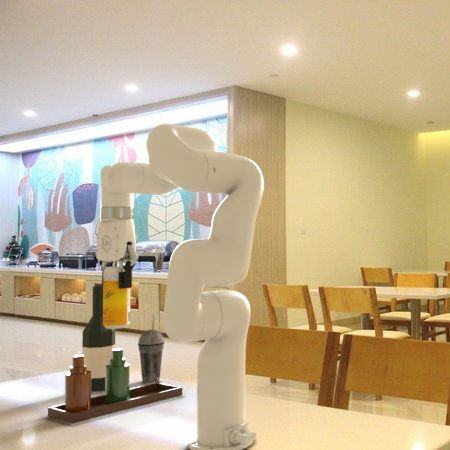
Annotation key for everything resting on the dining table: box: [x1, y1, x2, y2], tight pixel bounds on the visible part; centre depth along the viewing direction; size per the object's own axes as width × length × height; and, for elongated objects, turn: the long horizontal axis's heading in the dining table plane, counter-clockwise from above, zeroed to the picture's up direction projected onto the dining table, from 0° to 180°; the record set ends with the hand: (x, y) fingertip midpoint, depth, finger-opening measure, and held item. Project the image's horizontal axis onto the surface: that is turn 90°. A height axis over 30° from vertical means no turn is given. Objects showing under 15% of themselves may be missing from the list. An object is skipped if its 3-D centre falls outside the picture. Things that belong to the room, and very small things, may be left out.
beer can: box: [102, 265, 131, 330], centre depth 151 cm, size 6×6×15 cm
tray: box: [47, 381, 183, 424], centre depth 153 cm, size 11×30×3 cm, turn 147°
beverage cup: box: [137, 313, 165, 384], centre depth 179 cm, size 7×7×20 cm
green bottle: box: [104, 347, 131, 405], centre depth 153 cm, size 6×6×14 cm
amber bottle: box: [64, 354, 92, 413], centre depth 144 cm, size 6×6×14 cm
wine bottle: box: [81, 282, 116, 393], centre depth 171 cm, size 8×8×30 cm
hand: (116, 286), depth 151 cm, fingers closed on beer can, 6 cm apart
